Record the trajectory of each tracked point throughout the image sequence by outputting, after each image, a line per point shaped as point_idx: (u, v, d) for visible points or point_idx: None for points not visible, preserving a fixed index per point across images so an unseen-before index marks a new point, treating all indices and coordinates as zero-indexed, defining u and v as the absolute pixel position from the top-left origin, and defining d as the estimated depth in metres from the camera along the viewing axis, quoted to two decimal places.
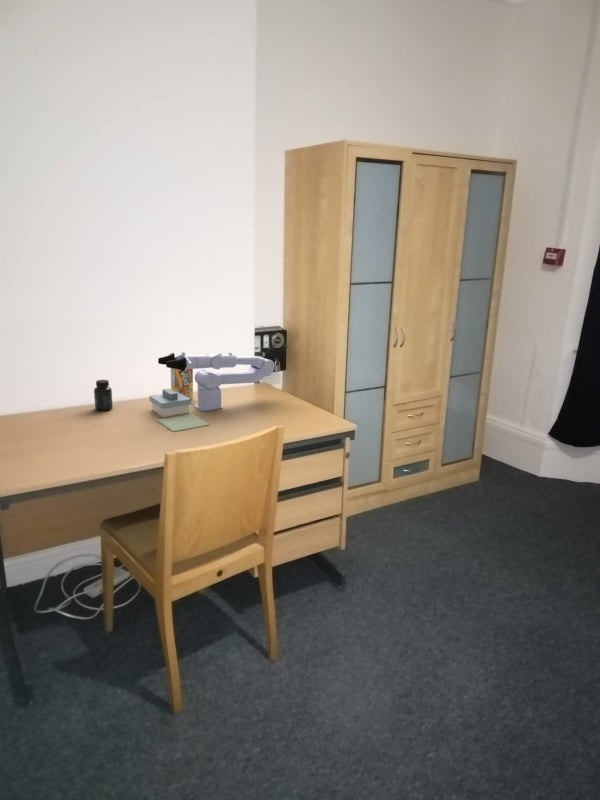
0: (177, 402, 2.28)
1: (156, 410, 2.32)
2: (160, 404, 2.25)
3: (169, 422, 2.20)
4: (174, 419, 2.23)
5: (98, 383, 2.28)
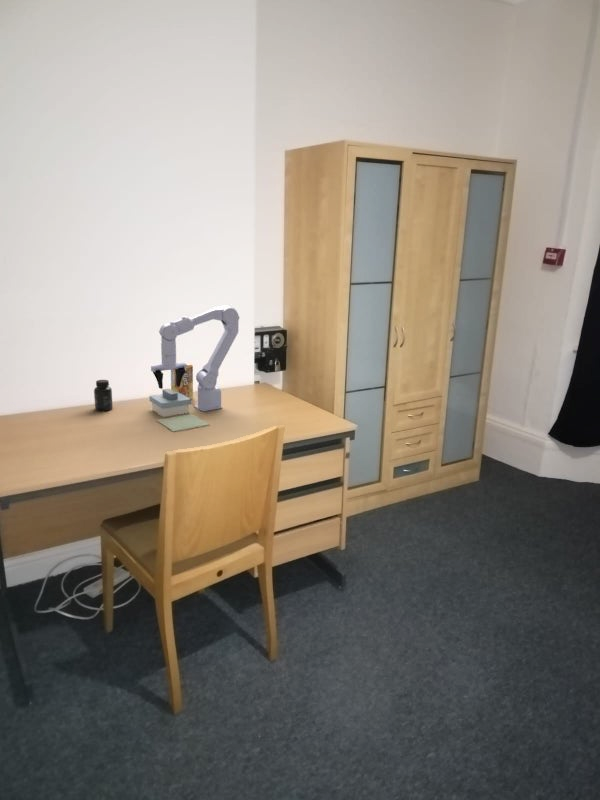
0: (177, 402, 2.28)
1: (156, 410, 2.32)
2: (160, 404, 2.25)
3: (169, 422, 2.20)
4: (174, 419, 2.23)
5: (98, 383, 2.28)
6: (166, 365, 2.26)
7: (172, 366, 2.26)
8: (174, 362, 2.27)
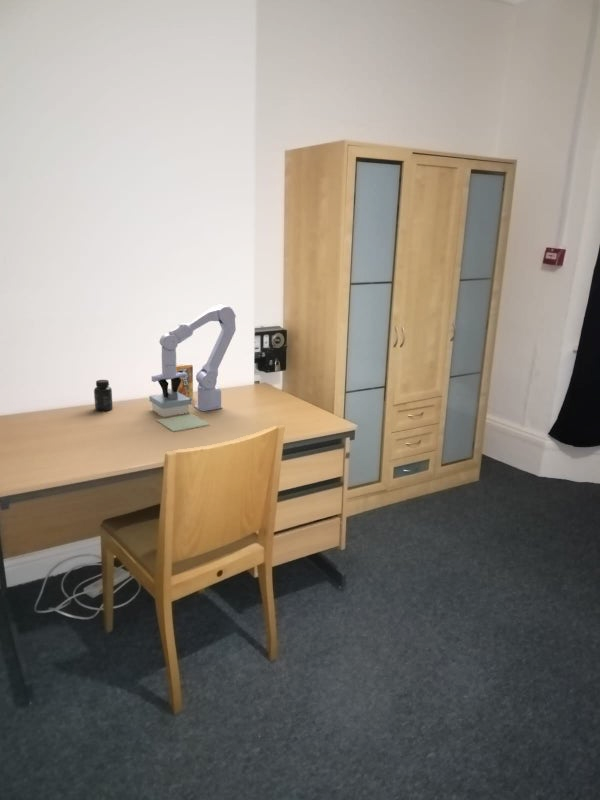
0: (177, 402, 2.28)
1: (156, 410, 2.32)
2: (160, 404, 2.25)
3: (169, 422, 2.20)
4: (174, 419, 2.23)
5: (98, 383, 2.28)
6: (166, 375, 2.27)
7: (172, 376, 2.28)
8: (174, 372, 2.28)
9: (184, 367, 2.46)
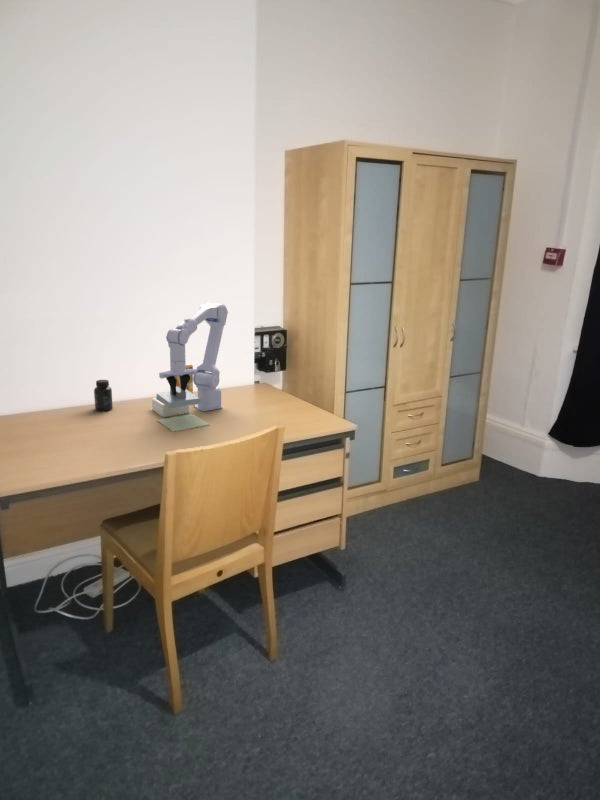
0: (185, 401, 2.18)
1: (156, 410, 2.32)
2: (167, 403, 2.15)
3: (169, 422, 2.20)
4: (174, 419, 2.23)
5: (98, 383, 2.28)
6: (175, 371, 2.16)
7: (181, 372, 2.17)
8: (183, 368, 2.17)
9: None
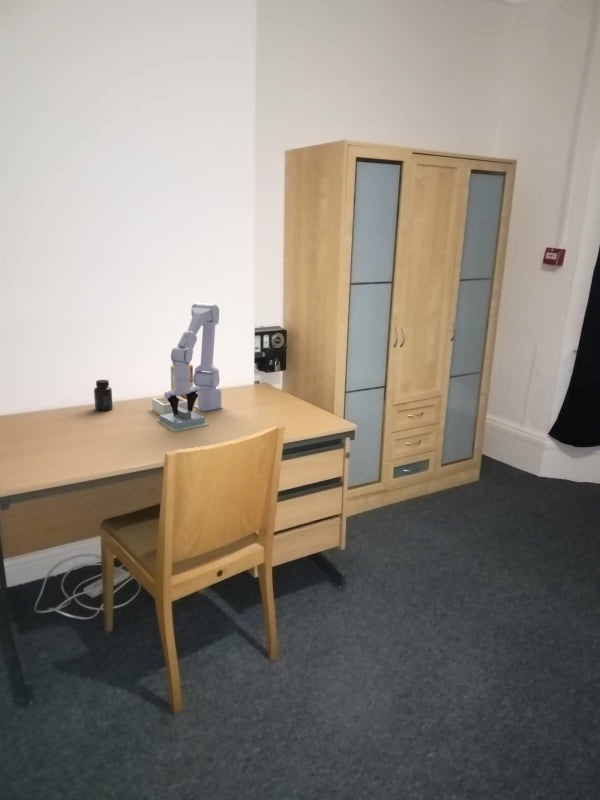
0: (192, 421, 2.17)
1: (156, 410, 2.32)
2: (174, 424, 2.13)
3: None
4: None
5: (98, 383, 2.28)
6: (180, 390, 2.14)
7: (186, 391, 2.15)
8: (188, 387, 2.16)
9: None
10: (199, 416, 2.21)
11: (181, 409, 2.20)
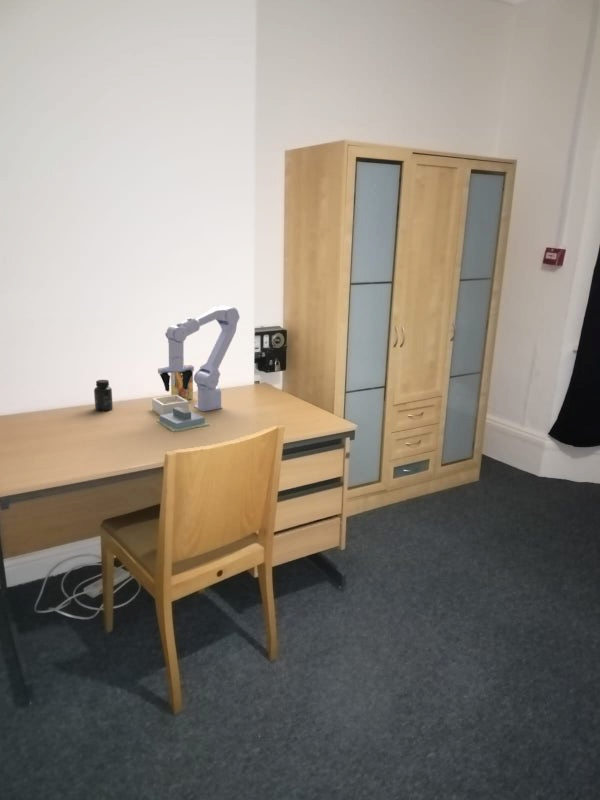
0: (192, 421, 2.17)
1: (156, 410, 2.32)
2: (174, 424, 2.13)
3: None
4: None
5: (98, 383, 2.28)
6: (173, 367, 2.22)
7: (179, 368, 2.23)
8: (181, 364, 2.24)
9: None
10: (199, 416, 2.21)
11: (181, 409, 2.20)
